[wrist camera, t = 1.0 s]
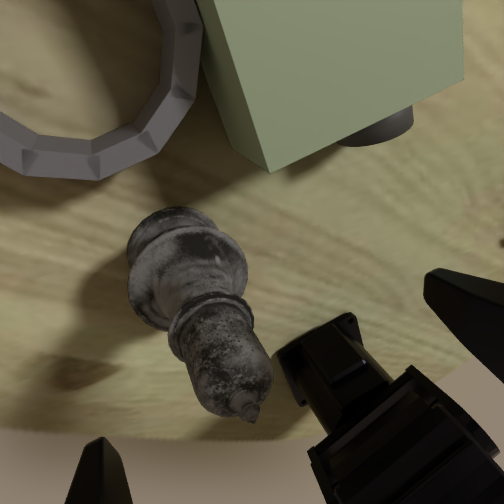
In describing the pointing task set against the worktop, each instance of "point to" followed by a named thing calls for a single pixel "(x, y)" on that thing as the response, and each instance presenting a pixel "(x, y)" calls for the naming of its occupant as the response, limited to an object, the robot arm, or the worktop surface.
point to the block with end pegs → (272, 81)
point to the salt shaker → (200, 307)
